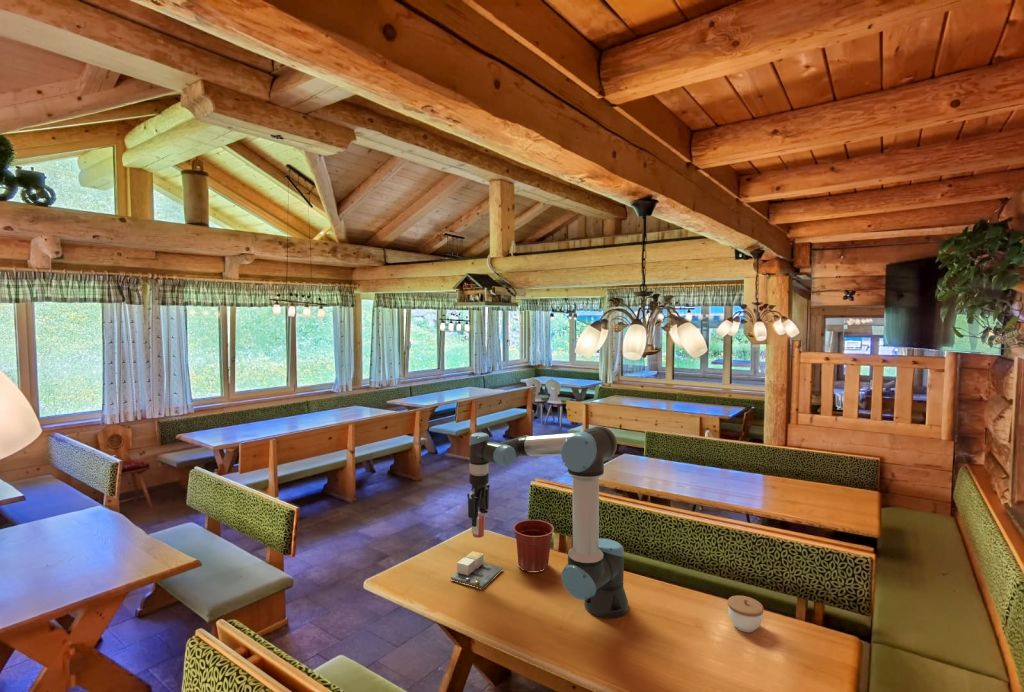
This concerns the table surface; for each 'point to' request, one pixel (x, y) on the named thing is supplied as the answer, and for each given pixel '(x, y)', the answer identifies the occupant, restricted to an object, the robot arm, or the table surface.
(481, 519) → the lockout cap
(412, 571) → the table surface
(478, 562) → the block
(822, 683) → the table surface
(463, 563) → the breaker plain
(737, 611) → the lidded jar
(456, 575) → the panel
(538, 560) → the flower pot
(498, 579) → the table surface
